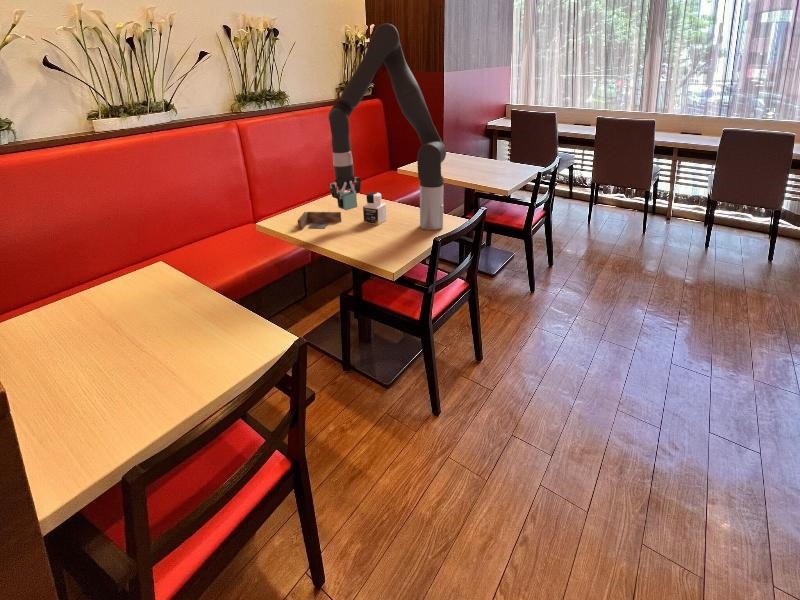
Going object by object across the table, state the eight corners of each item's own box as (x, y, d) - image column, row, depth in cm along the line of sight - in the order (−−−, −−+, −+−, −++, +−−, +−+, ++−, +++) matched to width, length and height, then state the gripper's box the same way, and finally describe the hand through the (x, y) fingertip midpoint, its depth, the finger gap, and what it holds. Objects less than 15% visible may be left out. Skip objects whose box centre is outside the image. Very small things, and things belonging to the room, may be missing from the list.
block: (349, 204, 198) (348, 191, 196) (357, 207, 194) (356, 193, 192) (338, 207, 195) (336, 194, 193) (346, 210, 191) (344, 196, 189)
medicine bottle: (363, 222, 203) (361, 194, 197) (372, 217, 208) (370, 190, 203) (378, 225, 200) (376, 196, 194) (386, 219, 205) (385, 192, 200)
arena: (341, 221, 206) (340, 211, 204) (335, 230, 196) (334, 220, 194) (306, 220, 207) (304, 211, 205) (298, 229, 198) (297, 220, 196)
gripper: (352, 158, 193) (356, 200, 201) (322, 165, 185) (327, 208, 193) (363, 161, 188) (367, 203, 196) (332, 168, 180) (337, 212, 188)
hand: (347, 205), depth 195 cm, fingers closed on block, 5 cm apart
